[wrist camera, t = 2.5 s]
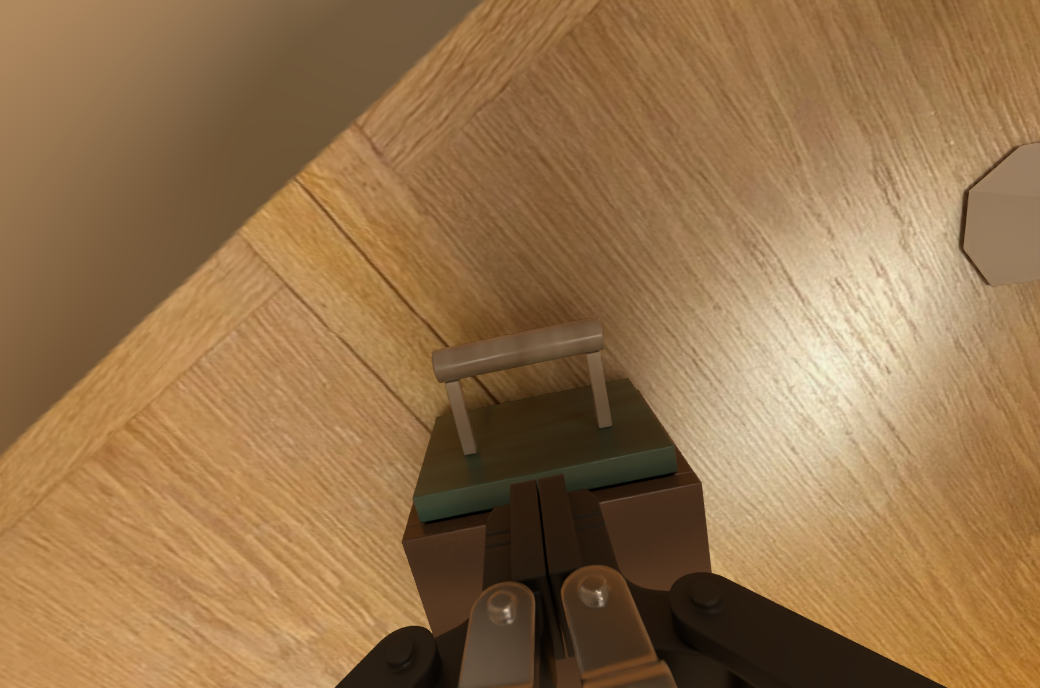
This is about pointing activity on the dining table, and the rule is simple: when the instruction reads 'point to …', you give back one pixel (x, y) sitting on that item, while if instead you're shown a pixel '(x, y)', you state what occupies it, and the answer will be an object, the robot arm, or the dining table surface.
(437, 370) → the drawer
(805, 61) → the dining table surface
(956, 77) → the dining table surface
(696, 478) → the cabinet
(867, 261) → the dining table surface
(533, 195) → the dining table surface
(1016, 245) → the flask
